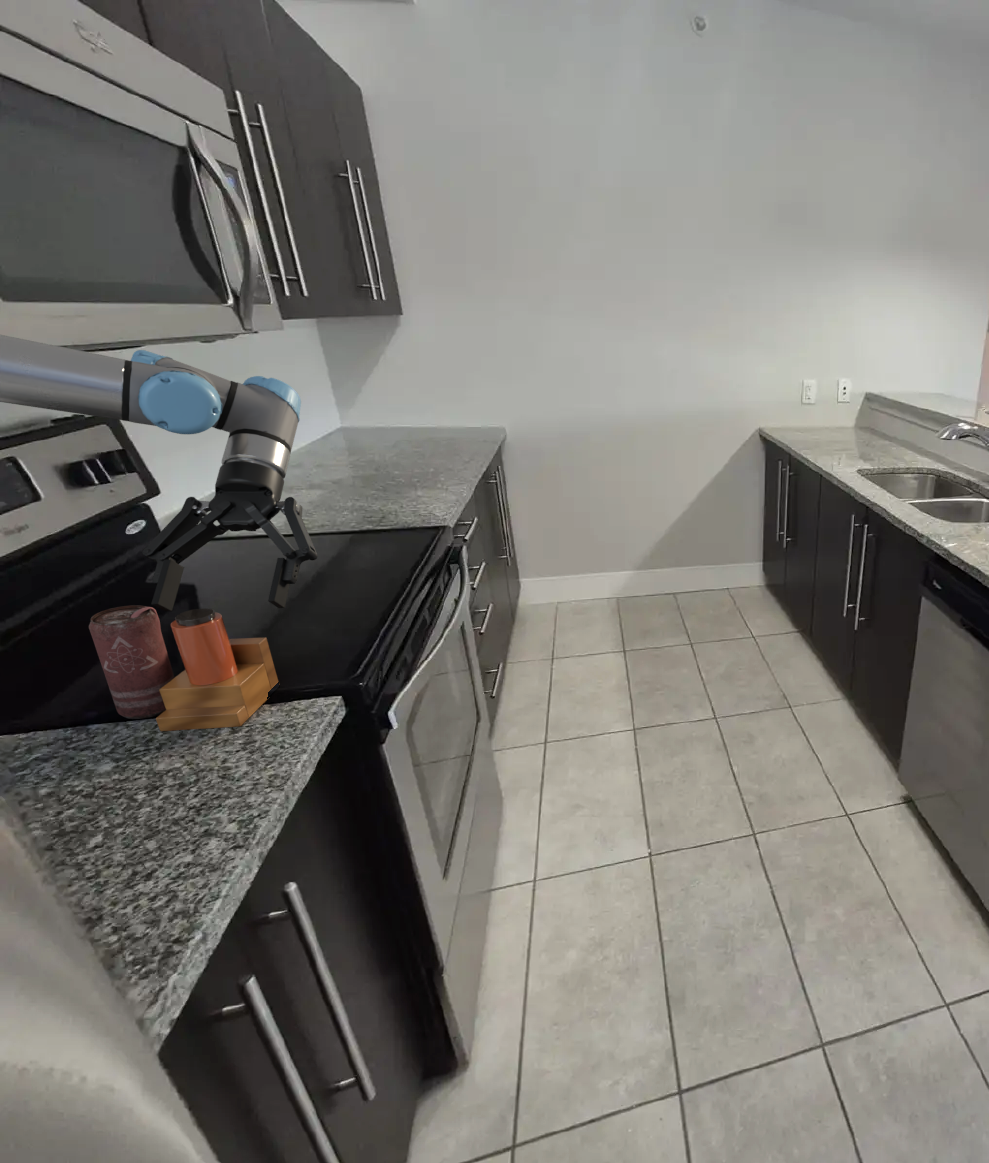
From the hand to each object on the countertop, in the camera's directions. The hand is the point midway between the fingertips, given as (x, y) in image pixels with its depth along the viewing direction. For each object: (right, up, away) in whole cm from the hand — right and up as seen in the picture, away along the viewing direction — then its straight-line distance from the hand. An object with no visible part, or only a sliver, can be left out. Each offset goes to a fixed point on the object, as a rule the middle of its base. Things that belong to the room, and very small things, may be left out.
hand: (219, 606), depth 87 cm
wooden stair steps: (0, -14, 0) cm, 14 cm away
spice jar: (+1, -9, -2) cm, 9 cm away
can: (-9, -14, -1) cm, 16 cm away
